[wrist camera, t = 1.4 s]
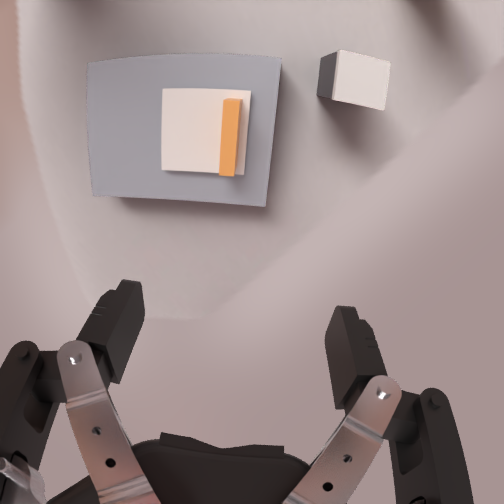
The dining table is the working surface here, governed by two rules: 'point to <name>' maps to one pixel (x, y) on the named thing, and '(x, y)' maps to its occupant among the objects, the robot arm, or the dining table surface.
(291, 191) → the dining table surface
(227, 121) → the shutter
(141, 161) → the socket block
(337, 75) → the plug
